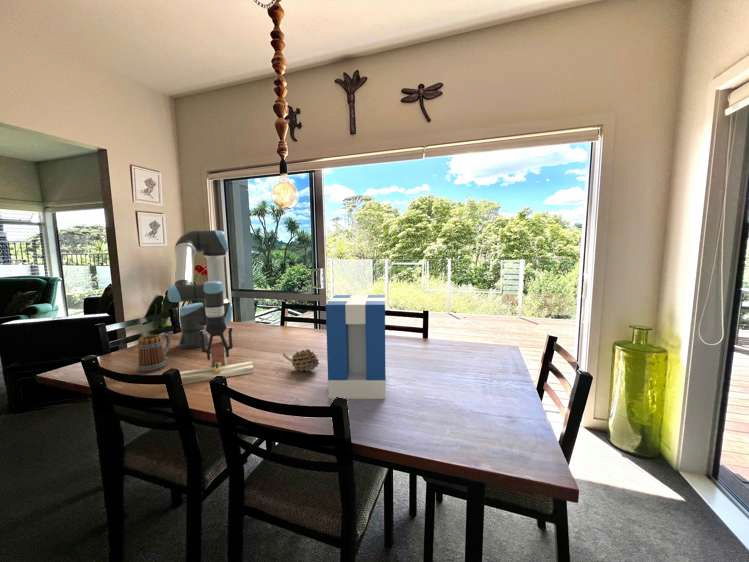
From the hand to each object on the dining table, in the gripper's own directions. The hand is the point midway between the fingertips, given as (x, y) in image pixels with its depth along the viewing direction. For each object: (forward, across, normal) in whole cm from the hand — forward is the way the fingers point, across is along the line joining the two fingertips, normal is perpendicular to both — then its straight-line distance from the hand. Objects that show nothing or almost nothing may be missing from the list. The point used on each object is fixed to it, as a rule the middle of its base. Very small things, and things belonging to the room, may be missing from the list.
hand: (218, 365), depth 144 cm
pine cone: (+2, +33, -16) cm, 37 cm away
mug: (+2, -27, +15) cm, 31 cm away
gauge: (+1, 0, -5) cm, 5 cm away
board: (+2, -1, -7) cm, 7 cm away
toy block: (+2, +53, -43) cm, 68 cm away
